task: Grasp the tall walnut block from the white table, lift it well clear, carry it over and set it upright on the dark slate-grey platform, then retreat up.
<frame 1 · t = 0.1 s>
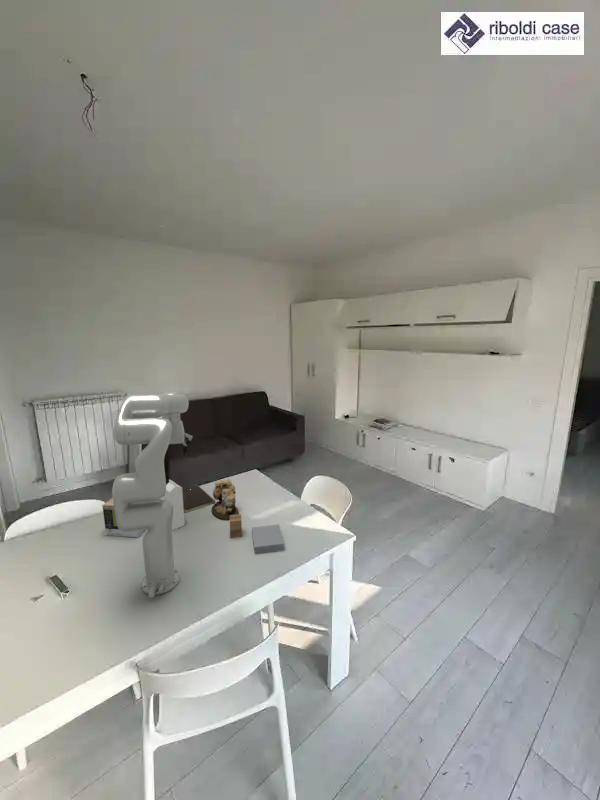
hand: (174, 454, 157), 31 cm above the table, fingers open, 9 cm apart
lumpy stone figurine: (224, 512, 167), on the table
milk: (175, 525, 155), on the table
tea box: (128, 530, 151), on the table
walnut block: (235, 534, 149), on the table
slate platform: (267, 541, 144), on the table
hardcover book: (191, 500, 179), on the table
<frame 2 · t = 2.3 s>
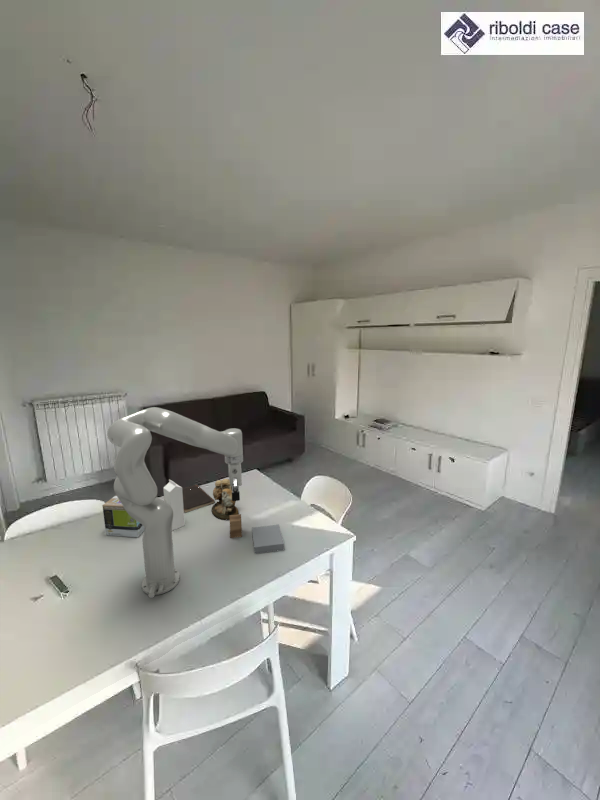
hand: (235, 494, 146), 19 cm above the table, fingers open, 9 cm apart
nothing on the table moved.
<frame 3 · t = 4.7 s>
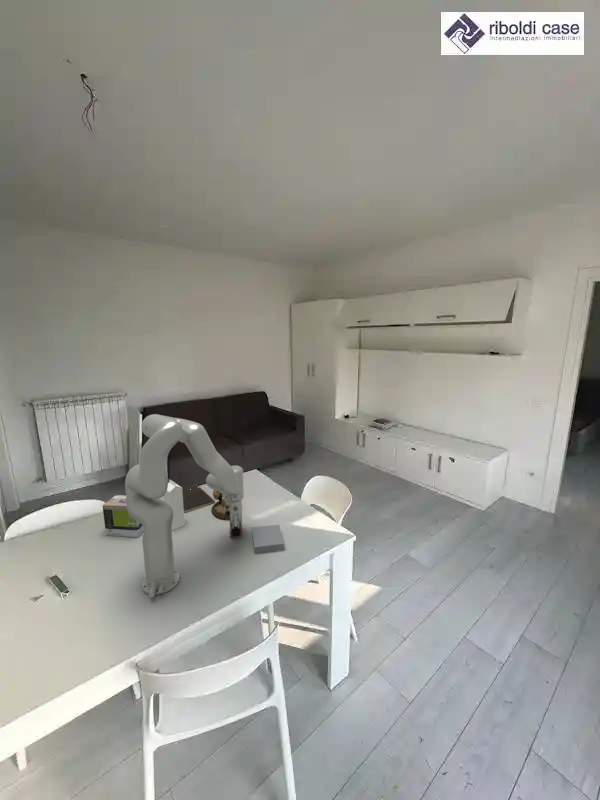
hand: (235, 531, 149), 1 cm above the table, fingers closed on walnut block, 5 cm apart
walnut block: (235, 534, 149), on the table, touching gripper
everything else where it was.
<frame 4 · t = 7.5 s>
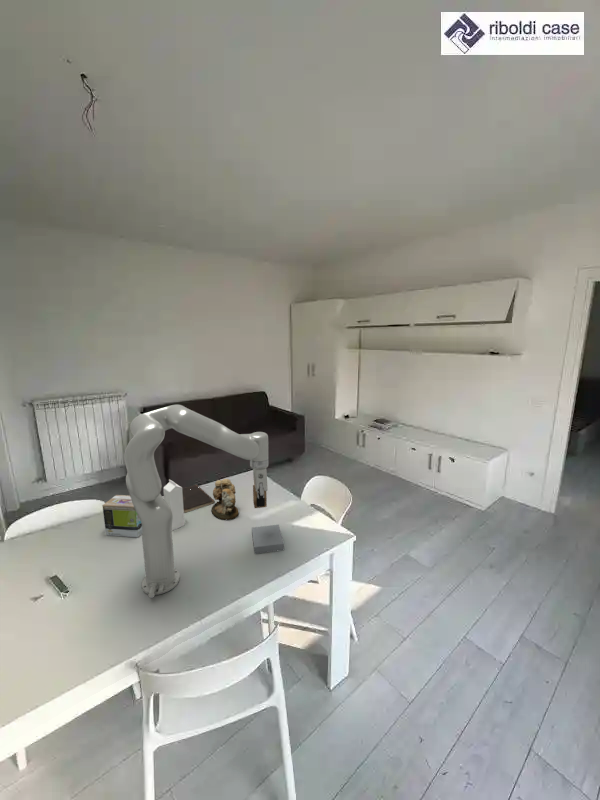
hand: (259, 502, 142), 18 cm above the table, fingers closed on walnut block, 5 cm apart
walnut block: (259, 504, 142), point 17 cm above the table, touching gripper
everything else where it was.
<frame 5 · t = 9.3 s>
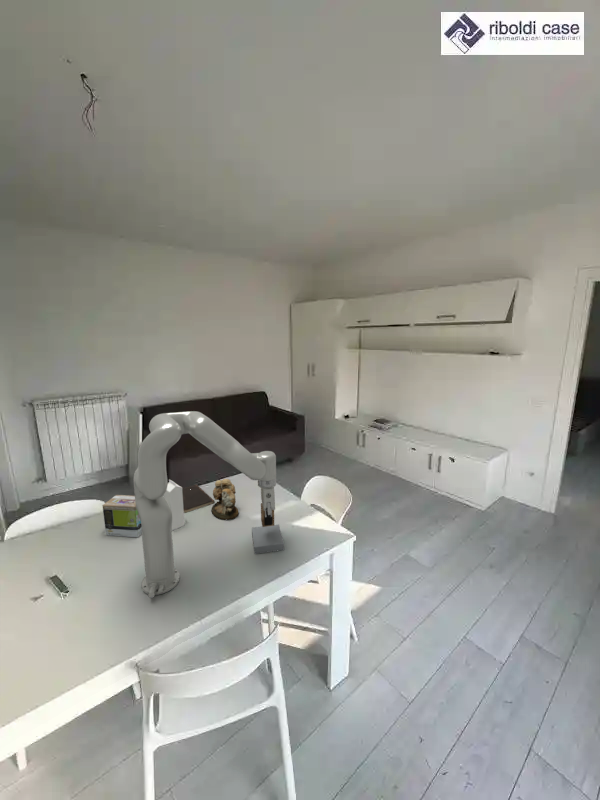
hand: (267, 520, 142), 10 cm above the table, fingers closed on walnut block, 5 cm apart
walnut block: (267, 522, 143), point 9 cm above the table, touching gripper
everything else where it was.
when the fingers open (5 cm above the table, at t = 10.5 s): walnut block drops 1 cm, resting on slate platform.
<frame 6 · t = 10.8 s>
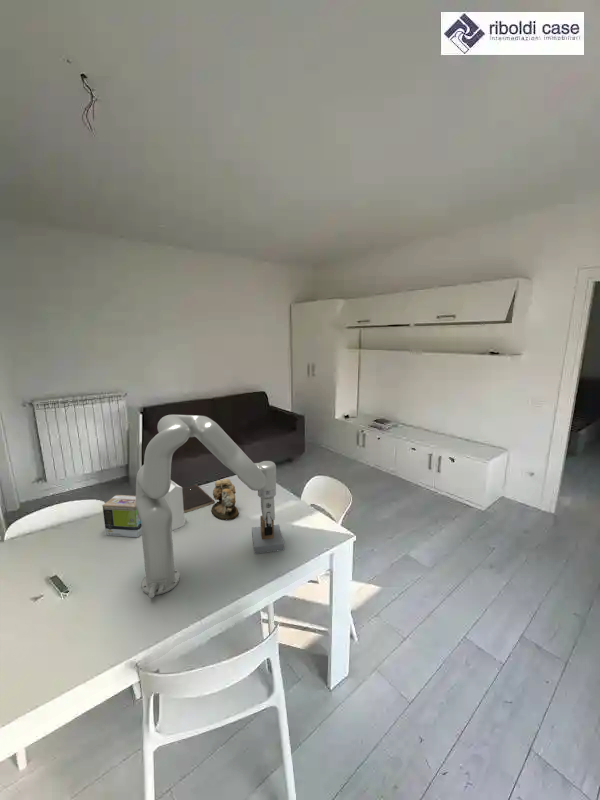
hand: (267, 528, 143), 6 cm above the table, fingers open, 7 cm apart
walnut block: (267, 535, 144), point 3 cm above the table, touching slate platform
everything else where it was.
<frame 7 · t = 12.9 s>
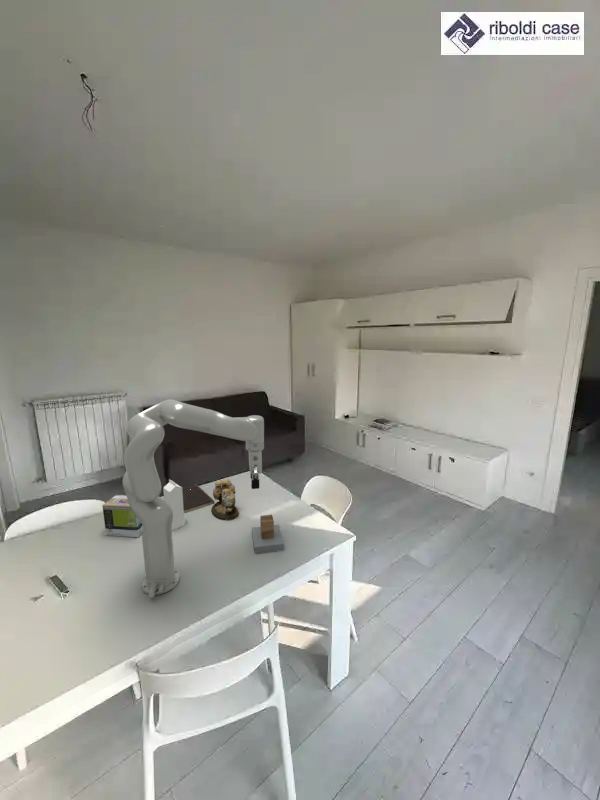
hand: (254, 483, 144), 24 cm above the table, fingers open, 9 cm apart
nothing on the table moved.
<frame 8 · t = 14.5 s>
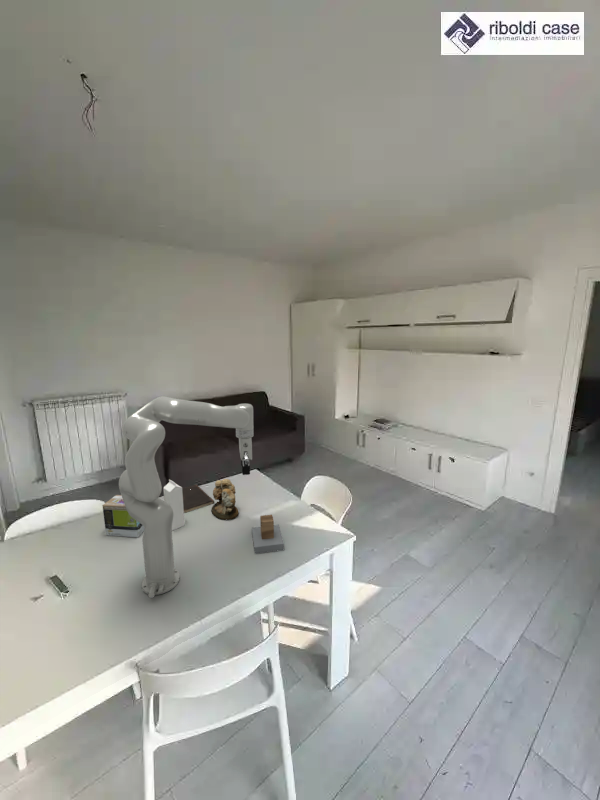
hand: (245, 469, 148), 28 cm above the table, fingers open, 9 cm apart
nothing on the table moved.
at the end: walnut block inside the target area on the slate platform (0.1 cm from its centre), point 3.0 cm above the slate platform's base; walnut block tilted 0°; the gripper is holding nothing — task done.
